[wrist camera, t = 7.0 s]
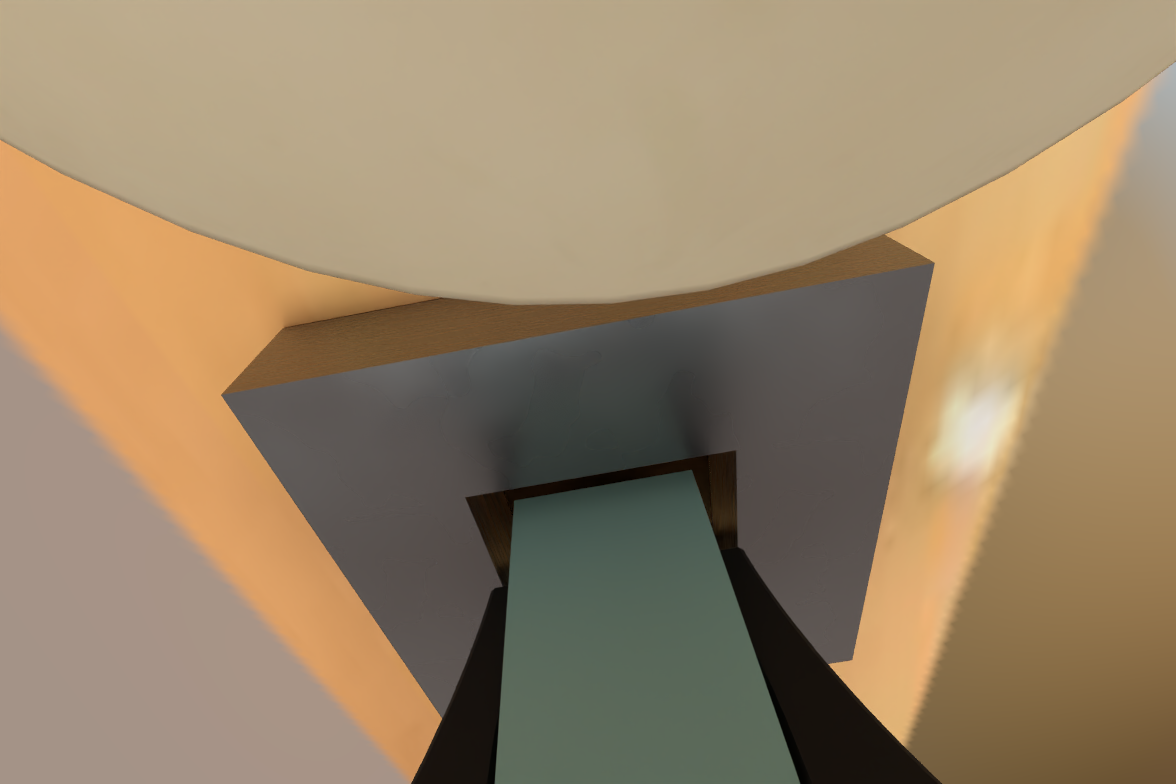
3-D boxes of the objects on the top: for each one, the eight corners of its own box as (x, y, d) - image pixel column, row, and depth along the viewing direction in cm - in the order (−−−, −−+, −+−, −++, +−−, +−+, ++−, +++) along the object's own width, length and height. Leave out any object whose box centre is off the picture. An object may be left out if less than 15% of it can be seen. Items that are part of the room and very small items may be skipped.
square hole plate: (814, 585, 17) (852, 659, 15) (457, 644, 18) (446, 724, 16) (857, 219, 10) (934, 263, 8) (282, 328, 11) (221, 394, 9)
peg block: (700, 581, 14) (789, 887, 9) (551, 606, 14) (555, 921, 9) (691, 469, 12) (803, 792, 7) (514, 500, 12) (490, 839, 7)
